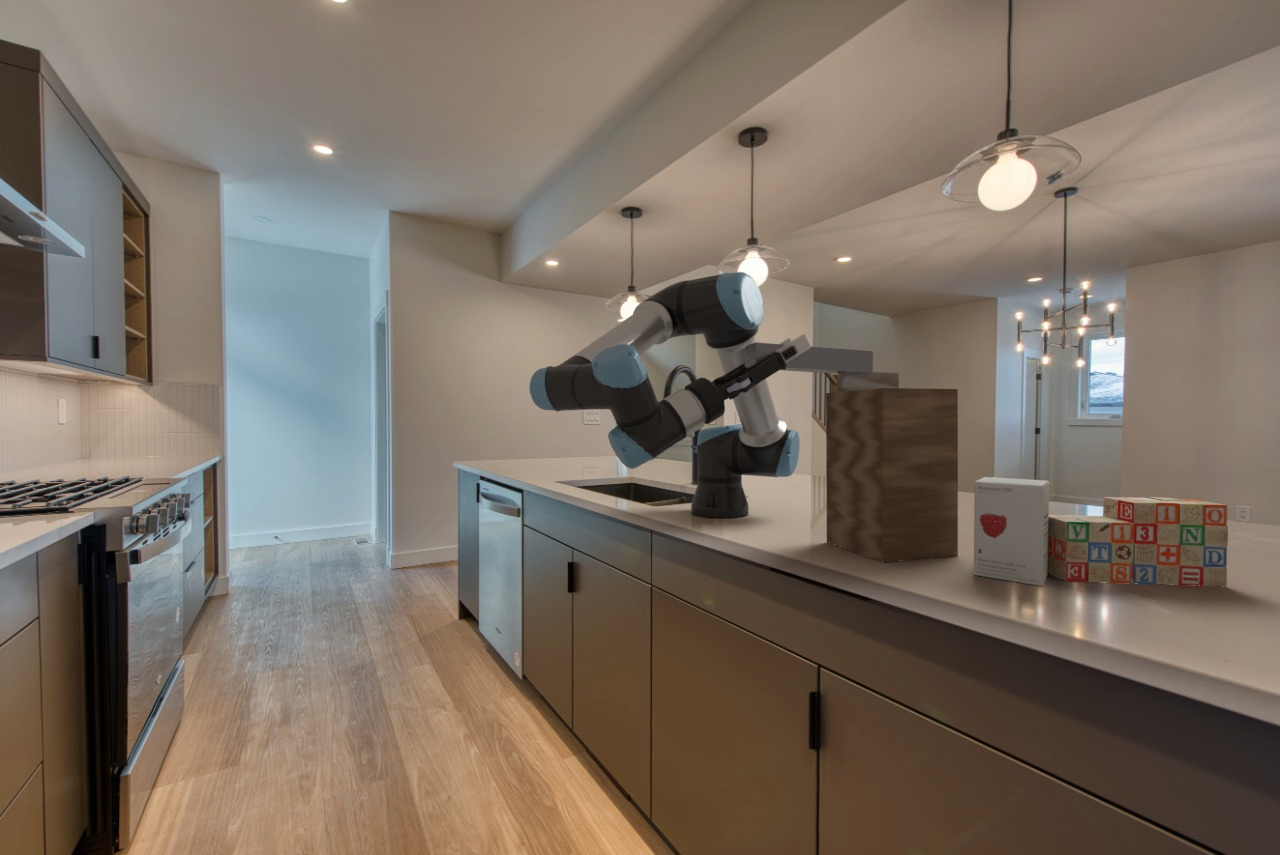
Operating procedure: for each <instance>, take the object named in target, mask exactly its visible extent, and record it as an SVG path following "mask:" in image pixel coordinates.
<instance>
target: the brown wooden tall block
mask: <svg viewBox="0 0 1280 855" xmlns="http://www.w3.org/2000/svg"><path fill="white" fill-rule="evenodd" d="M899 384H900V373H899V372H884V371H883V372H882V371H873V373H869V374H861V375H851V374H837V391H836V392H826V393H825V398H826V399H825V402H826V403H825V404H826V405H825V408H826V410H825V415H826V416H825V419H826V421H825V424H826V426H825V429H826V430H825V431H826V432H825V433H826V434H825V438H826V439H825V440H826V441H825V442H826V444H825V445H826V446H825V447H826V451H825V452H826V453H825V454H826V457H825V458H826V463H825V464H826V465H825V466H826V467H825V468H826V482H825V483H826V543H827V542H830V543H832V544H835V545H838V546H841V547H843V548H842V549H844V548H846V549H845V550H847V549H849V550H852V551H854V552H853V553H855V552H857V553H856V554H858V553H860V554H859V555H861V554H863V555H862V556H864V555H866V556H865V557H867V556H869V557H871V559H872V558H874V559H873V560H875V559H877V560H876V561H878V560H880V561H879V562H881V561H883V562H882V563H884V562H885V563H890V562H889V561H895V562H901V561H900V560H906V561H913V560H912V559H916V560H925V559H926V558H927V559H935V558H946V557H955V556H956V557H957V556H959V530H958V529H959V515H958V514H959V507H958V506H959V497H958V496H959V492H958V490H959V487H958V486H959V485H958V484H959V483H958V482H959V481H958V480H959V472H958V469H959V468H958V466H959V461H958V460H959V459H958V458H959V457H958V456H959V455H958V454H959V453H958V452H959V451H958V448H959V436H958V434H959V433H958V432H959V431H958V430H959V429H958V428H959V426H958V425H959V421H958V420H959V419H958V418H959V414H958V413H959V412H958V411H959V410H958V408H959V406H958V405H959V404H958V403H959V400H958V395H959V393H958V392H959V389H958V388H912V387H911V388H908V387H907V388H905V387H904V388H903V387H901V388H900V387H899V386H900V385H899ZM830 543H829V544H830ZM832 544H831V545H832ZM835 545H834V546H835ZM838 546H837V547H838ZM841 547H840V548H841ZM849 550H848V551H849ZM852 551H851V552H852ZM869 557H868V558H869Z"/></svg>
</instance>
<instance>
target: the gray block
mask: <svg viewBox="0 0 1280 855" xmlns="http://www.w3.org/2000/svg"><path fill="white" fill-rule="evenodd" d="M755 342H756V343H753V344H749V345H746V346H745V368H749V367H751V366H752V365H754V364H756V363H758V362H760V361H761V360H763V359H765V358H767V357H769V356H770V355H772V354H773V353H774V351H776V350H778V349H779V348H781V347H783V346H784V345H783V344H780V343H768V342H757V341H755ZM786 364H787V366H786V369H785V370H784V371H786V372H787V371H789V372H804V373H820V374H821V373H822V374H836V375H838V374H851V375H861V374H869V373H873V372H874V369H873V368H874V367H873V366H874V351H873V350H861V349H859V350H858V349H848V348H835V347H834V348H833V347H819V346H811V348H810V349H808V350H807V351H805V352H803V353H802V354H800V355H799V356H797V357H795V358H794V359H792V360H790V361H789V362H787V363H786ZM779 371H783V370H782V369H780V370H779Z"/></svg>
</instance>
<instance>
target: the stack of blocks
mask: <svg viewBox="0 0 1280 855" xmlns="http://www.w3.org/2000/svg"><path fill="white" fill-rule="evenodd" d="M1102 502H1103V503H1102V504H1103V506H1102V515H1082V514H1080V515H1079V514H1078V515H1077V514H1076V515H1075V514H1049V526H1048V573H1049V575H1050V574H1051V576H1053V577H1055V578H1057V579H1060V580H1061V579H1062V580H1061V581H1063V580H1064V582H1071V581H1079V583H1091V582H1106V583H1105V584H1116V583H1138V584H1137V585H1146V584H1174V585H1173V586H1177V585H1196V586H1195V587H1202V585H1203V586H1227V584H1228V582H1227V581H1228V580H1227V579H1228V578H1227V577H1228V574H1227V573H1228V569H1227V563H1228V562H1227V558H1228V557H1227V556H1228V544H1229V543H1228V541H1229V526H1228V525H1227V524H1228V523H1227V522H1228V505H1227V504H1223V503H1217V502H1213V501H1205V500H1204V501H1203V500H1198V499H1192V498H1191V499H1190V498H1173V497H1165V496H1164V497H1163V496H1161V497H1160V496H1156V497H1155V496H1147V497H1132V496H1131V497H1127V496H1126V497H1118V496H1117V497H1116V496H1115V497H1114V496H1113V497H1112V496H1104V497H1103V501H1102ZM1199 585H1200V586H1199ZM1227 587H1228V586H1227Z"/></svg>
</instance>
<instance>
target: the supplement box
mask: <svg viewBox="0 0 1280 855" xmlns="http://www.w3.org/2000/svg"><path fill="white" fill-rule="evenodd" d="M1049 504H1050V481H1049V480H1042V479H1027V478H1025V479H1023V478H1010V477H1008V478H1007V477H992V476H991V477H990V476H984V477H982V478H979V479H977V480H975V481H974V511H973V512H974V516H973V517H974V522H973V523H974V527H973V528H974V529H973V530H974V532H973V535H974V536H973V546H974V547H973V575H974V576H977V577H985V578H991V579H995V580H996V579H997V580H1001V581H1007V582H1014V583H1020V584H1026V585H1031V586H1039V587H1044V585H1045V583H1046V580H1047V577H1048V526H1049V515H1050V514H1049V512H1050V508H1049V507H1050V505H1049Z"/></svg>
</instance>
